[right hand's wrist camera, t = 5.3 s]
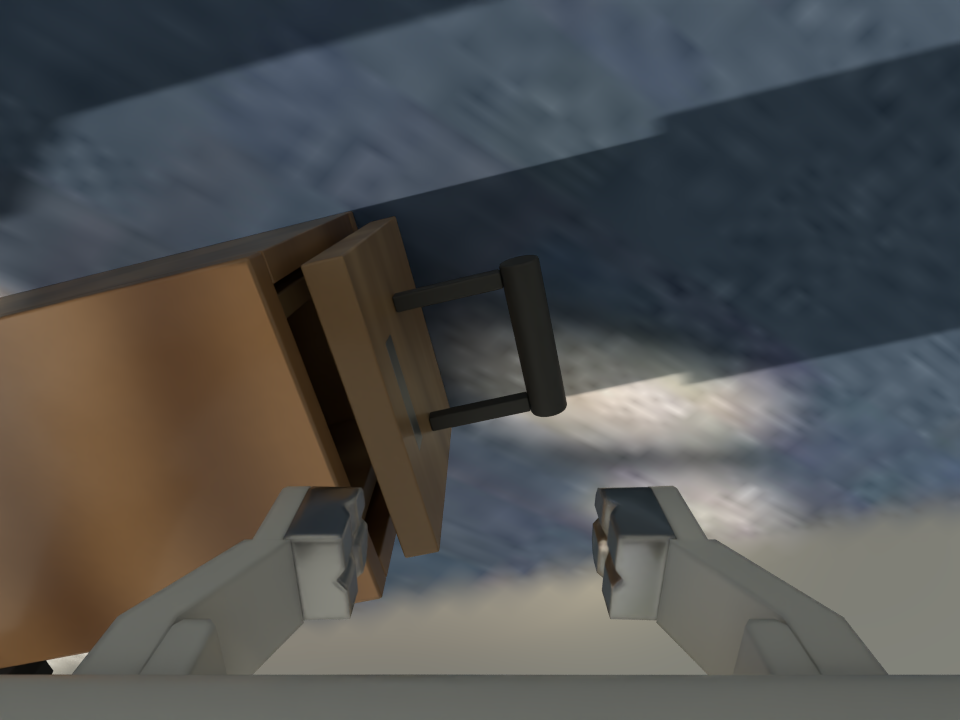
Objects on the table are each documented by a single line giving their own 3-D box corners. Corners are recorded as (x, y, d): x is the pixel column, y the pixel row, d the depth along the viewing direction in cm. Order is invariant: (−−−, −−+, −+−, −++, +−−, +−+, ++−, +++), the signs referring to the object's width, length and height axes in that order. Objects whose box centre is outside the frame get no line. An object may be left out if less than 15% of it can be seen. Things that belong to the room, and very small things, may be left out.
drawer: (516, 186, 22) (541, 207, 13) (557, 395, 26) (599, 522, 17) (37, 303, 24) (-221, 390, 15) (138, 484, 28) (-24, 640, 19)
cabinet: (352, 210, 23) (247, 256, 13) (419, 427, 27) (382, 599, 17) (-15, 301, 25) (-382, 410, 14) (100, 494, 29) (-121, 692, 18)
